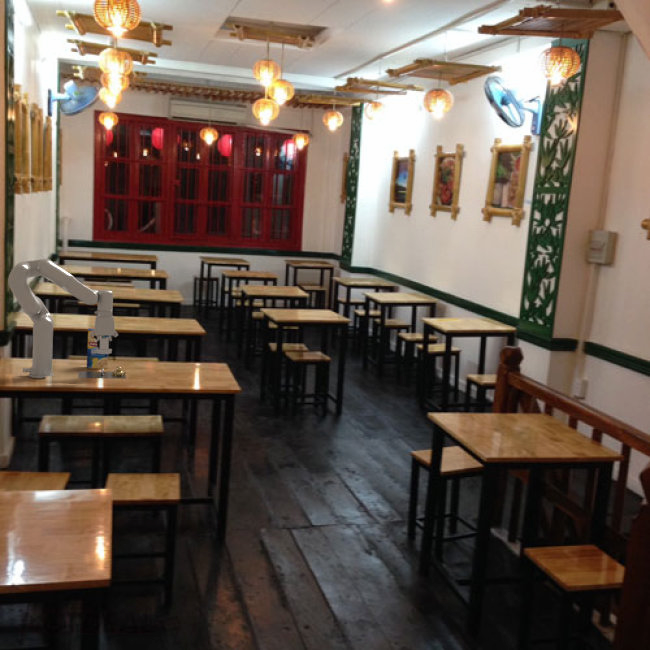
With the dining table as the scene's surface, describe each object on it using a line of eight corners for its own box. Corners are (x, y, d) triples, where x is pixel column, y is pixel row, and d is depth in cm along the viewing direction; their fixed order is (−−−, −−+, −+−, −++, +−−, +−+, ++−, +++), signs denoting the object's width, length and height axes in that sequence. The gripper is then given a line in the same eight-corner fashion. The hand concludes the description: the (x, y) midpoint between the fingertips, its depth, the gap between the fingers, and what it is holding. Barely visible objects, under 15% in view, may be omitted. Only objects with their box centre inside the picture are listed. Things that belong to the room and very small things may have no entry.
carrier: (78, 380, 397) (78, 369, 396) (78, 373, 412) (78, 363, 411) (126, 380, 404) (126, 370, 404) (124, 374, 419) (125, 364, 419)
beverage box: (107, 370, 425) (109, 331, 423) (86, 370, 423) (88, 330, 420) (107, 368, 432) (109, 329, 429) (87, 367, 429) (88, 328, 426)
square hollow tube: (96, 354, 402) (96, 338, 400) (95, 351, 409) (96, 336, 408) (111, 354, 404) (112, 339, 403) (111, 351, 412) (111, 336, 411)
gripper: (88, 314, 398) (87, 349, 400) (122, 315, 403) (120, 349, 405) (88, 312, 405) (87, 346, 407) (121, 313, 410) (120, 347, 412)
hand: (103, 347), depth 406 cm, fingers closed on square hollow tube, 4 cm apart
